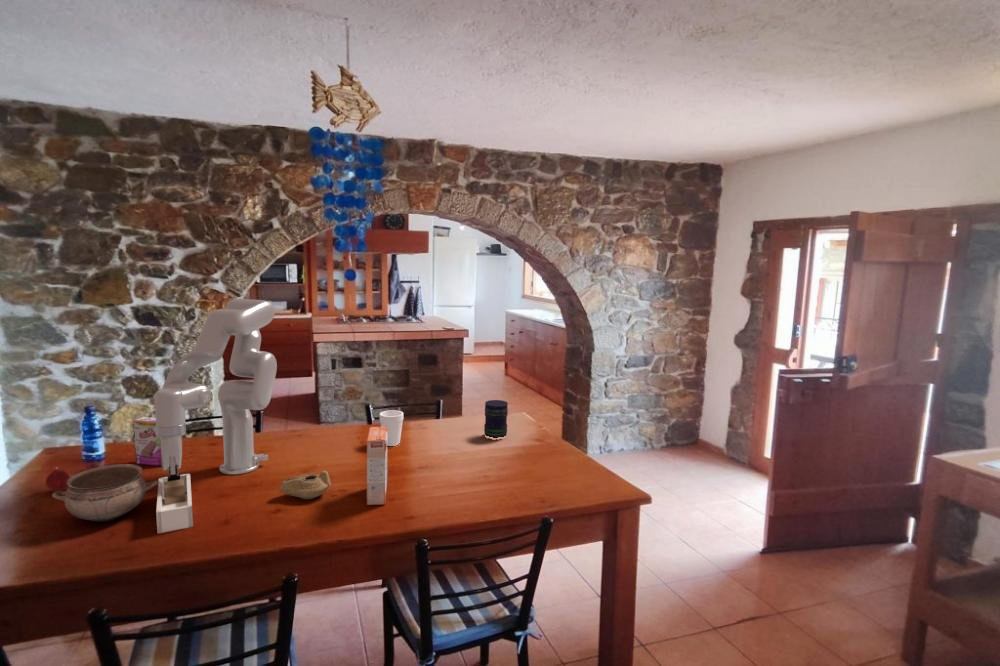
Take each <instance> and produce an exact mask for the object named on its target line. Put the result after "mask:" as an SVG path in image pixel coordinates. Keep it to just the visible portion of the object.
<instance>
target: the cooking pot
mask: <svg viewBox="0 0 1000 666" xmlns="http://www.w3.org/2000/svg"><path fill="white" fill-rule="evenodd" d="M142 473H143V468H142V467H141V466H139V465H138V464H130V463H129V464H128V463H123V464H122V463H121V464H120V463H119V464H110V465H103V466H98V467H97V466H96V467H93V468H90V469H87V470H84V471H81V472H78V473H76V474H74V475H72V476H71V477H70V478H69V479H68V480H67V483H66V484H67V486H68V488H67V490H66V491H62V490H61V491H57V492H56V491H54V492H53V493H51V496H52V498H54V499H57V500H58V501H62V502H64V505H65V506H64V507H65V508H66V509H67V511H68V513H70V515H71V516H74V517H75V518H78V519H82V520H86V521H90V522H91V521H92V522H98V523H99V522H100V523H106V522H110V521H114V520H117V519H119V518H121V517H122V516H123V515H125V514H127V513H128V512H130V511H131V510H133V509H135V508H136V507H137V506H138V505H140V503H141V502H142V501H143V500H144V498H145V495H146V493H147V491H149V490H151V489H153V488H154V487H155V486H158V483H159V480H153V481H150V482H149V481H148V482H146V481H145V480H146V479H145V478H144V476H143V475H142Z"/></svg>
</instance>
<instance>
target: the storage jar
mask: <svg viewBox="0 0 1000 666" xmlns="http://www.w3.org/2000/svg"><path fill="white" fill-rule="evenodd" d="M508 405H509V402H508V401H505V400H501V399H500V400H499V399H491V400H487V401H485V403H484V416H485V419H484V420H485V423H484V435H486V436H489V437H493V438H498V437H504V436H506V435H508V423H507V422H508V421H507V420H508V416H509V414H508V409H509V408H508Z"/></svg>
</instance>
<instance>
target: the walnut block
mask: <svg viewBox="0 0 1000 666" xmlns="http://www.w3.org/2000/svg"><path fill="white" fill-rule="evenodd" d="M164 496H165V505H167V504H173V503H179V502H184V501H185V490H184V479H181V480H175V481H168V482H164Z"/></svg>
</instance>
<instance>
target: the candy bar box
mask: <svg viewBox="0 0 1000 666" xmlns="http://www.w3.org/2000/svg"><path fill="white" fill-rule="evenodd" d="M132 425H133V438H134V439H133V440H134V450H135V451H134V454H135V465H144V466H157V467H162V458H161V438H158V437H157V431H156V417H151V416H150V417H149V416H141V417H138V418H135V419H134V420H132Z"/></svg>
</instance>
